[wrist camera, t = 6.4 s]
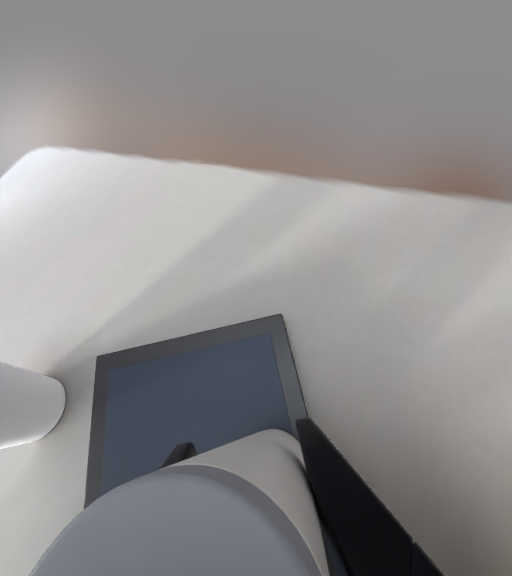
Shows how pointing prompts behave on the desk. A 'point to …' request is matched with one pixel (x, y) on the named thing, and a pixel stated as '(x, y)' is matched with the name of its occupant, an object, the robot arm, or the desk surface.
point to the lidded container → (202, 519)
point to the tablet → (190, 399)
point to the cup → (27, 405)
